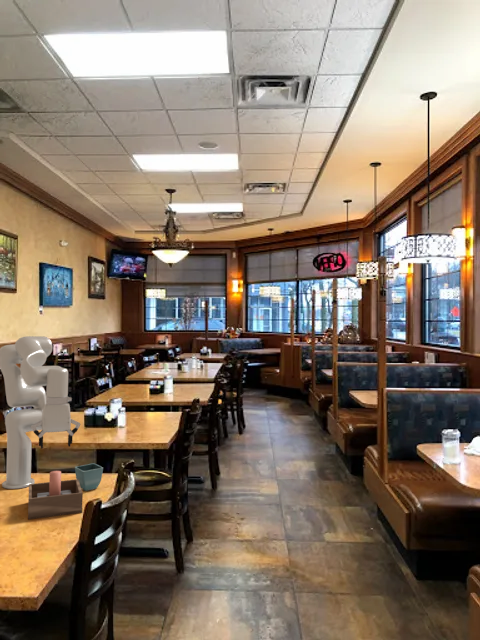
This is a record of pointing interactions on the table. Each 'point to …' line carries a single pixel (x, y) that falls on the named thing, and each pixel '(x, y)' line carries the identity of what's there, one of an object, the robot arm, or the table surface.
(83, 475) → the flower pot
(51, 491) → the peg
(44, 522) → the table surface
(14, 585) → the table surface
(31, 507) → the open box
